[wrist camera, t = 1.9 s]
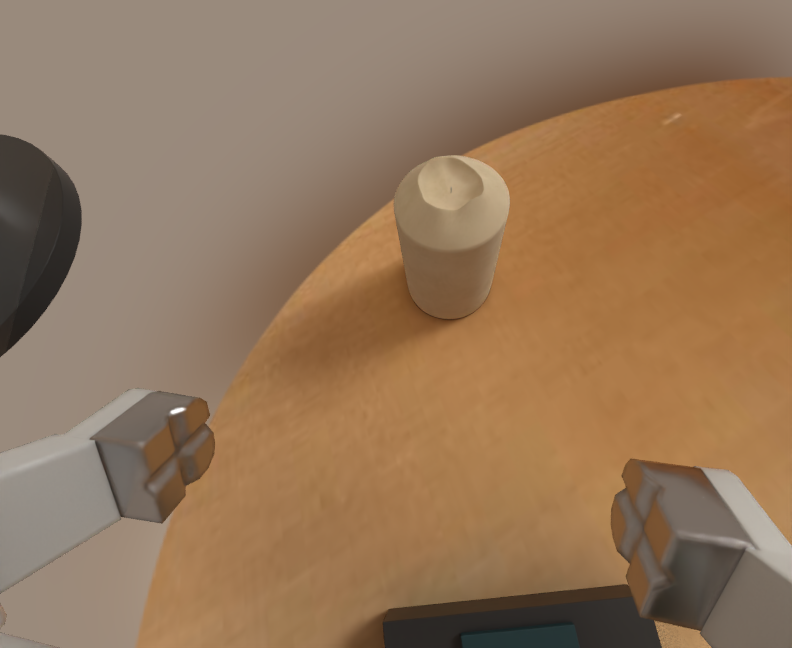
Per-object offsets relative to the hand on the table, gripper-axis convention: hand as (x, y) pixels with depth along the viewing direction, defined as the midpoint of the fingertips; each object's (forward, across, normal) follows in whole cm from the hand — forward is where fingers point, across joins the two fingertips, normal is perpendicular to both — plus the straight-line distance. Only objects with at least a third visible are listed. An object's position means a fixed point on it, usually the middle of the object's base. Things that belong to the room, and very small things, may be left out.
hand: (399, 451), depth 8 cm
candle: (+20, 0, +3) cm, 21 cm away
